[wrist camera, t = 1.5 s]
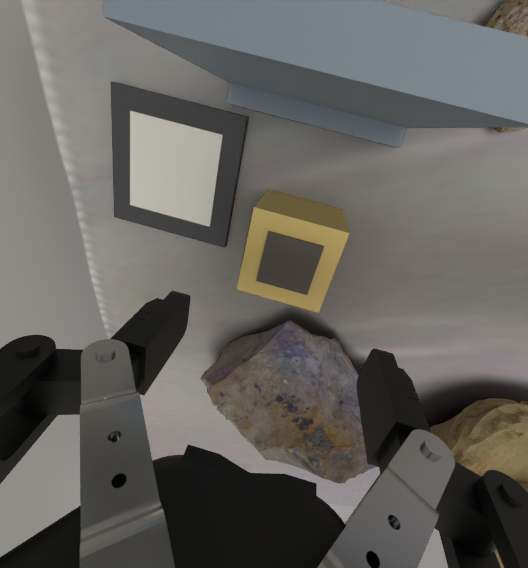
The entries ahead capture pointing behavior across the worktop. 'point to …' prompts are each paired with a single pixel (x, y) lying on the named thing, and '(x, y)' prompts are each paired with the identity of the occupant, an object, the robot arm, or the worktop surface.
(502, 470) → the fossil
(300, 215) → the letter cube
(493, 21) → the rock
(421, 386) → the worktop surface
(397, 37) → the screen
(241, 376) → the stone
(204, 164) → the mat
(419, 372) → the worktop surface
